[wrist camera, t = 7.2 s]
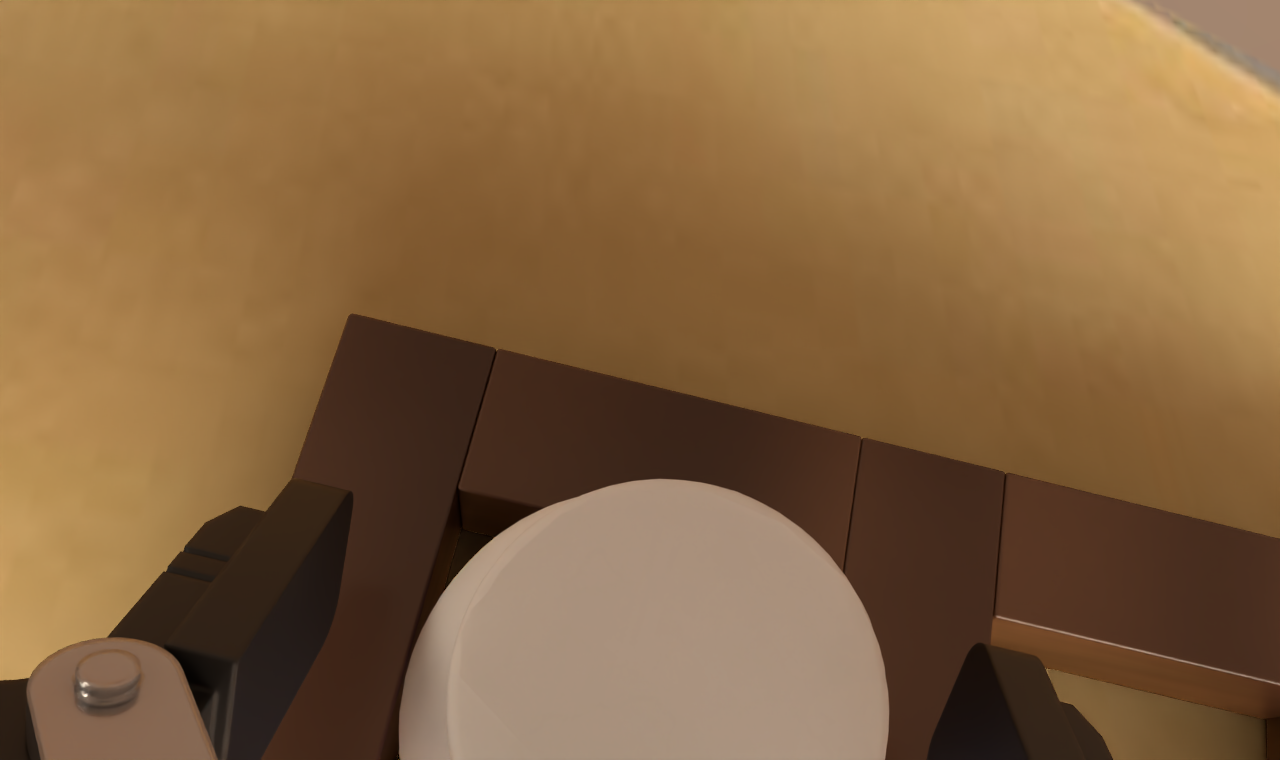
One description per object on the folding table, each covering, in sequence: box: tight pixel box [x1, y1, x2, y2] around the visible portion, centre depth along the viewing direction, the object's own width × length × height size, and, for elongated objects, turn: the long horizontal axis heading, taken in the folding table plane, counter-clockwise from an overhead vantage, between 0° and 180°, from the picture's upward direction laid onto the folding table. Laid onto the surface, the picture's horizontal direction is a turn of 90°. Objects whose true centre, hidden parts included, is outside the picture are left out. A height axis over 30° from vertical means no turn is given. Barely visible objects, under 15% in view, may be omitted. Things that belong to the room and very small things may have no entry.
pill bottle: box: [399, 479, 889, 760], centre depth 14 cm, size 5×5×9 cm
